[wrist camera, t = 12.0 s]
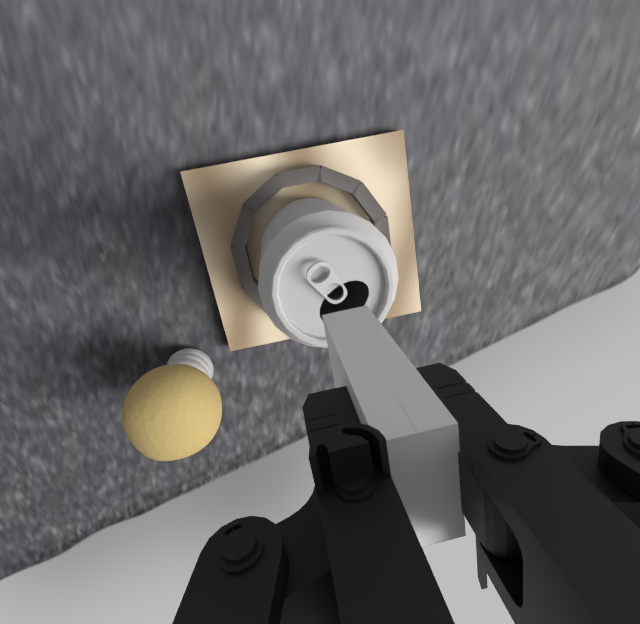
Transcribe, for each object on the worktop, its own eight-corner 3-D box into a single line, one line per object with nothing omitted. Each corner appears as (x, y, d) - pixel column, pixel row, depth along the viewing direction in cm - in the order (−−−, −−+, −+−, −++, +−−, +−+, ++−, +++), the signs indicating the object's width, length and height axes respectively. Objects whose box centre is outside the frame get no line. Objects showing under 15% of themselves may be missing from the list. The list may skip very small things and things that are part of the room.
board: (231, 345, 35) (228, 359, 32) (183, 171, 30) (175, 171, 27) (416, 306, 35) (427, 317, 33) (398, 131, 31) (410, 128, 28)
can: (303, 312, 33) (321, 388, 22) (240, 240, 31) (223, 283, 19) (377, 253, 32) (436, 300, 21) (318, 174, 30) (349, 178, 18)
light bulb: (173, 408, 36) (139, 494, 26) (137, 346, 34) (87, 415, 24) (242, 383, 36) (232, 459, 26) (211, 319, 34) (189, 378, 24)
